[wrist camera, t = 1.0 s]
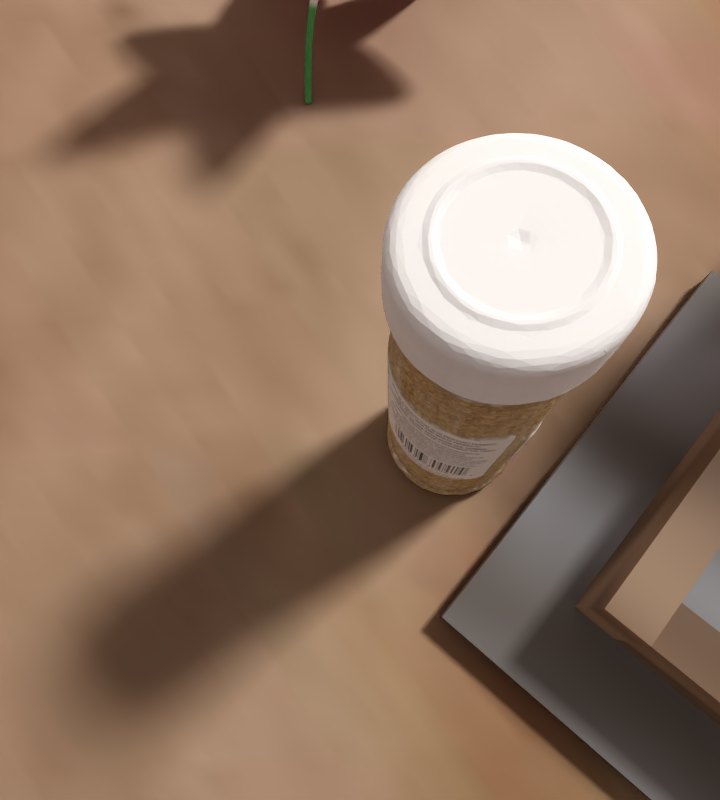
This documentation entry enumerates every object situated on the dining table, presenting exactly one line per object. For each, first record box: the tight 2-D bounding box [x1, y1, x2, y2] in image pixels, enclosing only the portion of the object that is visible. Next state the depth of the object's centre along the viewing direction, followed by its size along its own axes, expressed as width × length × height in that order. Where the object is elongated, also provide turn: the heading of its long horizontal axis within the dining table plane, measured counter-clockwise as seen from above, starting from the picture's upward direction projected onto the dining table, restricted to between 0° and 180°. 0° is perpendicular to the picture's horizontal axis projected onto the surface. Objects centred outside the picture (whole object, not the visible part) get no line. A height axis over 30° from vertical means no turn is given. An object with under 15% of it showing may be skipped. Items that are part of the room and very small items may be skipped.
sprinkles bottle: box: [381, 133, 657, 495], centre depth 17 cm, size 5×5×13 cm
